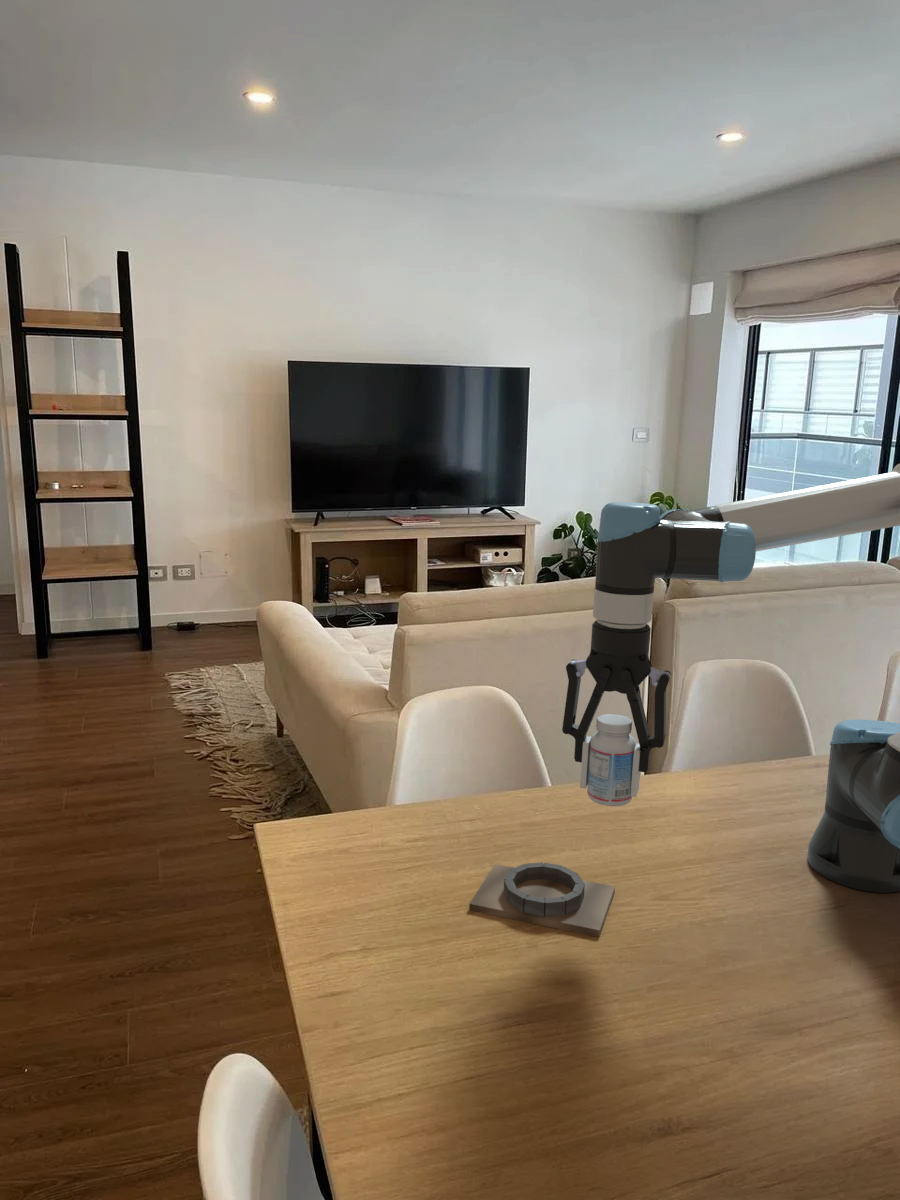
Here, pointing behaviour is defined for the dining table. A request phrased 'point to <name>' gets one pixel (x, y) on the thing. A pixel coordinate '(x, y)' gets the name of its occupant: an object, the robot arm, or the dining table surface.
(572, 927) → the holder
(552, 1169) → the dining table surface
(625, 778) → the pill bottle
